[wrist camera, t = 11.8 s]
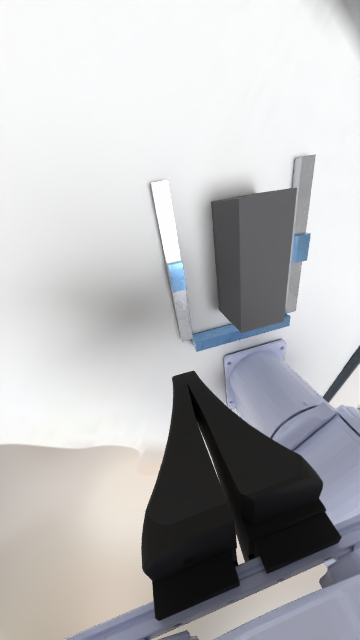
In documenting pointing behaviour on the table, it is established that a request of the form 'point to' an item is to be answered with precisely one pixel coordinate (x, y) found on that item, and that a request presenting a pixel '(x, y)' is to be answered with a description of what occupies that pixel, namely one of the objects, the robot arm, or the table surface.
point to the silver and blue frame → (176, 271)
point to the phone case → (346, 385)
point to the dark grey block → (253, 256)
